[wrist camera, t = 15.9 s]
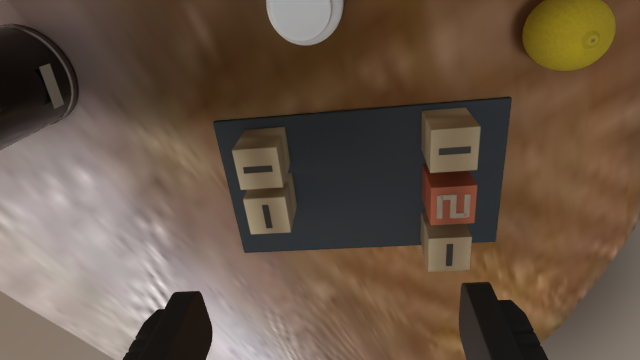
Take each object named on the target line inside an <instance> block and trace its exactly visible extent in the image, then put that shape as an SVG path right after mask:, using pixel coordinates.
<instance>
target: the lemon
mask: <svg viewBox="0 0 640 360" xmlns="http://www.w3.org/2000/svg"><path fill="white" fill-rule="evenodd" d="M615 28H616V23H615V18H614V15H613V13H612V11H611V9H610V8H609V6H608V5H606V4H605V3H604V2H603V1H602V0H544V1H542V2H541V3H539V4H538V5H537V6H536V7H535V8H534V9H533V10H532V11H531V13H530V15H529V16H528V18H527V19H526V22H525V25H524V27H523V35H522V38H523V45H524V47H525V50H526V52H527V54H528V55H529V56H530V57H531V58H532V59H533V61H535V62H536V63H538V64H539V65H541V66H543V67H545V68H548V69H552V70H557V71H571V70H576V69H580V68H583V67H586V66H588V65H590V64H592V63H594V62H595V61H596V60H598V59H599V58H600V57H601V56H602V55H603V54H604V53H605V52H606V51H607V50H608V48H609V46H610V45H611V43H612V41H613V38H614V35H615Z"/></svg>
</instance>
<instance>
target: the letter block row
mask: <svg viewBox="0 0 640 360" xmlns="http://www.w3.org/2000/svg"><path fill="white" fill-rule="evenodd" d="M480 130H481V127H480V125H479V124H478V123H477V121H476V120H475V119H474V118H473V116H472V115H471V114H470V113H469V111H468V110H467V109H466V108H453V109H440V110H428V111H422V121H421V150H422V153H423V156H424V158H425V161H426V163H427V166H428V169H429V171H430V173H437V172H453V171H468V170H477V167H478V155H479V142H480ZM420 242H421V246H422V250H423V254H424V258H425V262H426V266H427V270H428V271H456V270H469V267H470V255H471V242H472V236H471V234H470V232H469V230H468V227H467V225H466V224H448V225H430V223H429V220H428V216H427V213H426V211H421V229H420Z"/></svg>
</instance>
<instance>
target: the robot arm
mask: <svg viewBox="0 0 640 360" xmlns="http://www.w3.org/2000/svg"><path fill="white" fill-rule="evenodd" d="M76 100H77V82H76V78H75V74H74V72H73V69H72V67H71V65H70V63H69V62H68V60H67V58H66V57H65V56H64V54H63V53H62V52H61V51H60V49H59V48H58V47H57V46H56V45H55V44H54V43H53V42H51V41H50V40H49V39H48V38H46V37H45V36H43V35H42V34H40V33H38V32H37V31H35V30H32V29H30V28H27V27H24V26H20V25H2V26H0V151H1V150H3V149H4V148H6V147H8V146H10V145H12V144H14V143H16V142H18V141H19V140H21V139H23V138H25V137H27V136H29V135H31V134H33V133H35V132H37V131H39V130H40V129H42V128H44V127H46V126H48V125H50V124H53V123H56V122H58V121H59V120H61V119H63V118H65V117H66V116H67V115H68V114H69V113H70V112H71V111H72V109H73V108H74V106H75V103H76ZM459 331H460V337H461V342H462V345H463V349H464V352H465V356H466V359H467V360H548V358H547V356H546V354H545V352H544V350H543V348H542V347H541V346H540V342H539V340H538V338H537V336H536V334H535V333H534V332H533V328H532V326H531V324H530V322H529V320H528V318H527V316H526V314H525V313H524V312H523V311H522V310H521V309H520V308H519V307H518V306H517V305H516V304H515V303H514V302H512V301H511V300H498V299H497V297H496V295H495V293H494V290H493V288H492V286H491V284H490V283H489V282H476V283H462V285H461V296H460V310H459ZM211 342H212V325H211V321H210V318H209V315H208V312H207V309H206V306H205V303H204V300H203V297H202V294H201V293H200V292H199V291H189V292H175V293H173V295H172V296H171V298H170V300H169V302H168V303H167V305H166V307H165V309H158V310H157V311H156V312H155V313H154V314H152V315H151V316H150V317H149V318H148V319H147V320H146V321H145V322H144V324H143V325H142V327H141V329H140V330H139V332H138V334H137V336H136V340H134V341H133V343H132V344H131V346H130V348H129V352H128V353H126V355H125V357H124V358H123V360H206V357H207V354H208V352H209V349H210V346H211Z"/></svg>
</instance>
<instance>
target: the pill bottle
mask: <svg viewBox="0 0 640 360" xmlns="http://www.w3.org/2000/svg"><path fill="white" fill-rule="evenodd" d="M344 1H345V0H266V7H267V13H268V16H269V19H270V22H271V24H272V25H273V27H274V29H275V30H276V31H277V32H278V33H279V34H280V35H281V36H282V37H283V38H284V39H286V40H287V41H289V42H291V43H294V44H298V45H314V44H317V43H319V42H322V41H323V40H325V39H326V38H328V37H329V36H330V35H331V34H332V33H333V32H334V30H335V29H336V28H337V26H338V24H339V22H340V19H341V16H342V13H343V8H344Z"/></svg>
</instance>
